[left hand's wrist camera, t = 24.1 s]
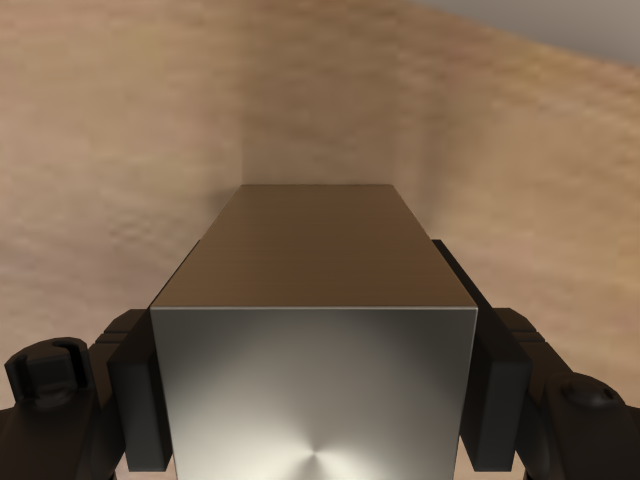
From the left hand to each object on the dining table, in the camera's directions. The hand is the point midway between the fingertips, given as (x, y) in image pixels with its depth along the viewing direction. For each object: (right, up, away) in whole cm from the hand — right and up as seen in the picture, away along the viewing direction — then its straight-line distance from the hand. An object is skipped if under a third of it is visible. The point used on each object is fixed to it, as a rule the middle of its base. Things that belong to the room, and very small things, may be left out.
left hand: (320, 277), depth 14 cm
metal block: (0, 0, +1) cm, 1 cm away
